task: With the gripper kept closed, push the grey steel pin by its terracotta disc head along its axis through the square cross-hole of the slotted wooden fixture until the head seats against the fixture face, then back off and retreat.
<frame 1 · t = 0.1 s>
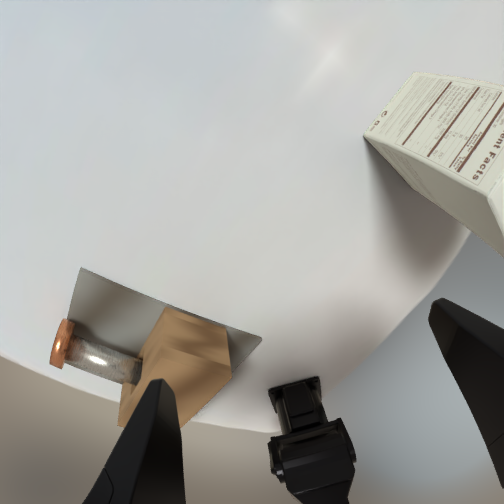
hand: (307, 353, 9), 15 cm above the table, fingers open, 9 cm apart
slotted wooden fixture: (167, 358, 29), on the table
supplement box: (412, 130, 20), on the table
pin: (106, 361, 24), point 3 cm above the table, slide at 0.0 cm
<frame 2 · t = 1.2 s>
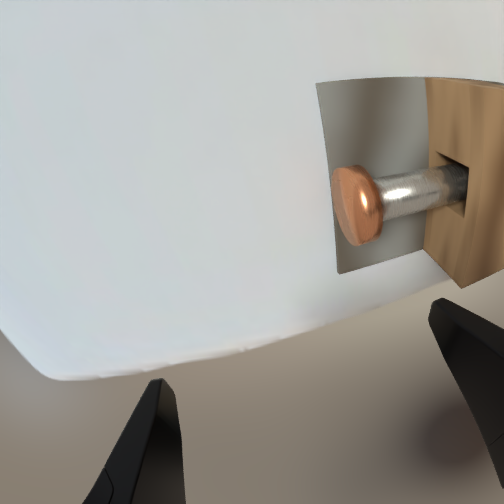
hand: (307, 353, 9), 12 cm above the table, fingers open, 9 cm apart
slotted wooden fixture: (452, 164, 19), on the table
pin: (416, 191, 17), point 3 cm above the table, slide at 0.0 cm
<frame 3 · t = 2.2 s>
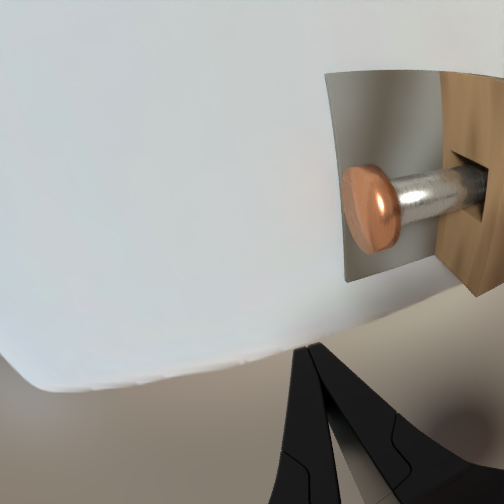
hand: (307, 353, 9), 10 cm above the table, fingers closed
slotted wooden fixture: (466, 164, 18), on the table
pin: (432, 193, 15), point 3 cm above the table, slide at 0.0 cm
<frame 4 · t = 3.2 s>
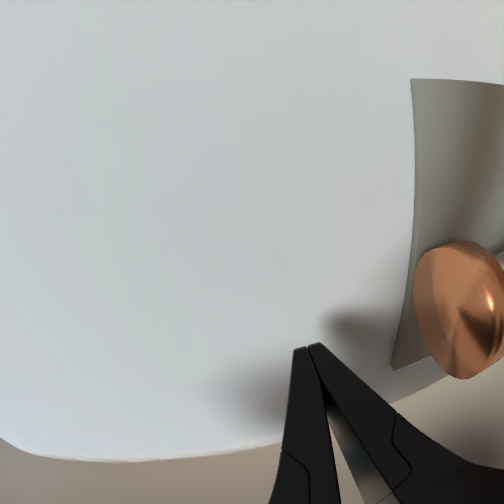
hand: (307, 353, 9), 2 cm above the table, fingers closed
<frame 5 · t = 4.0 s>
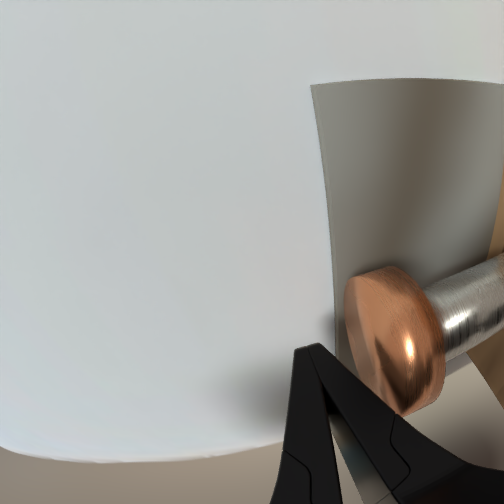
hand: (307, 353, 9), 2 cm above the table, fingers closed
pin: (488, 298, 8), point 3 cm above the table, slide at 0.3 cm, touching gripper
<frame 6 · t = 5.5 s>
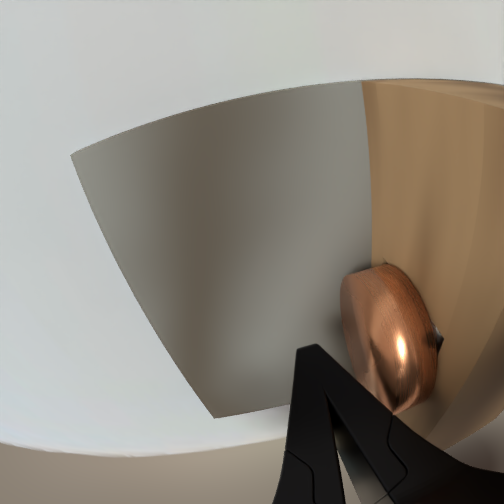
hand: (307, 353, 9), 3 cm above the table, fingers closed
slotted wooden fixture: (429, 258, 11), on the table
pin: (485, 298, 8), point 3 cm above the table, slide at 6.9 cm, touching gripper
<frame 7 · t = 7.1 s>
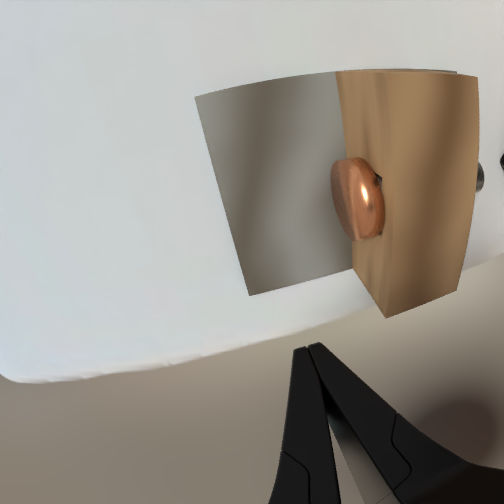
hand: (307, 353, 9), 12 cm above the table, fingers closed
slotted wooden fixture: (384, 171, 19), on the table
pin: (418, 185, 16), point 3 cm above the table, slide at 6.8 cm
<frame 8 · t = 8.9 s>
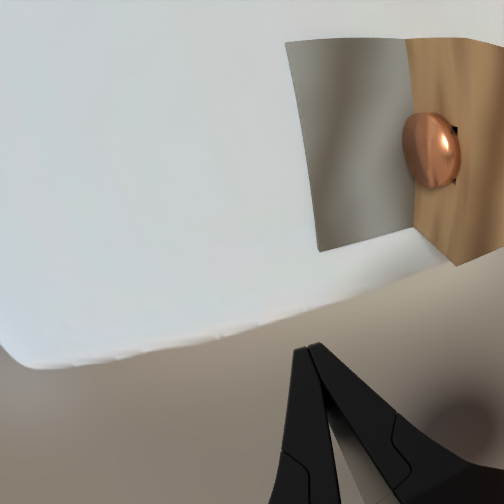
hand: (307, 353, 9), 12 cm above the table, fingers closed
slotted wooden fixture: (441, 133, 18), on the table
pin: (475, 144, 15), point 3 cm above the table, slide at 6.8 cm
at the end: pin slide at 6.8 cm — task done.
